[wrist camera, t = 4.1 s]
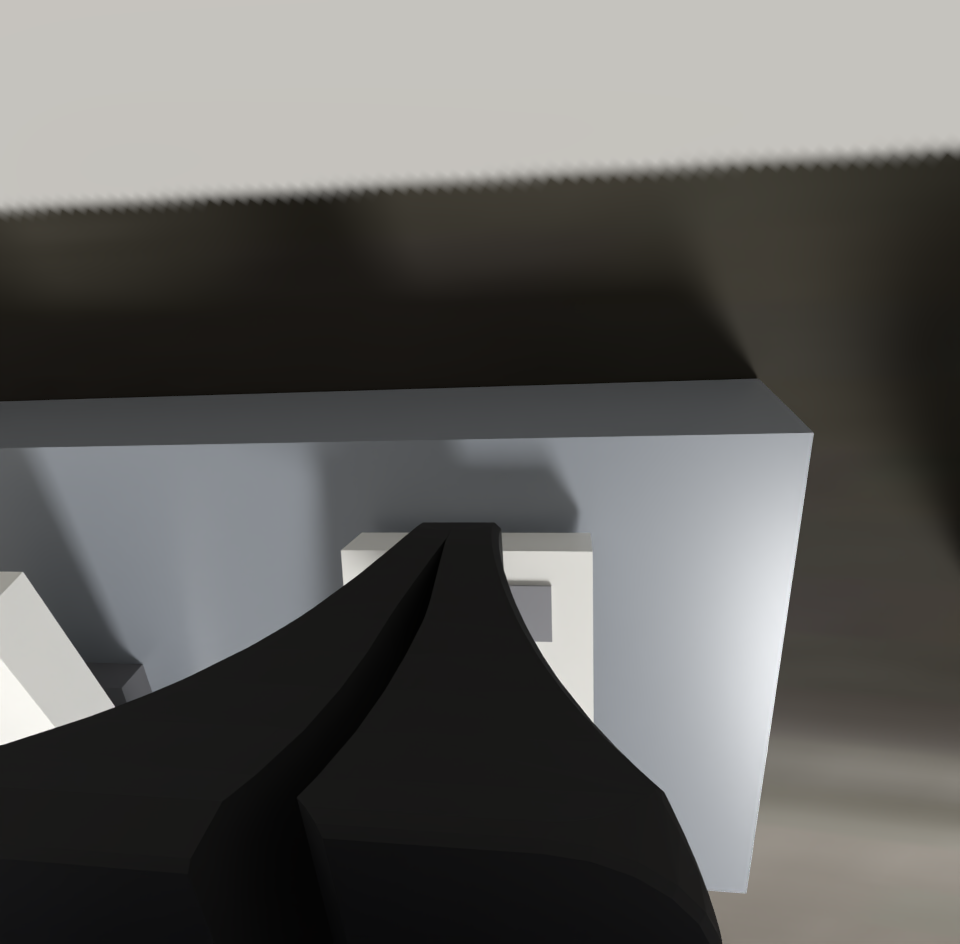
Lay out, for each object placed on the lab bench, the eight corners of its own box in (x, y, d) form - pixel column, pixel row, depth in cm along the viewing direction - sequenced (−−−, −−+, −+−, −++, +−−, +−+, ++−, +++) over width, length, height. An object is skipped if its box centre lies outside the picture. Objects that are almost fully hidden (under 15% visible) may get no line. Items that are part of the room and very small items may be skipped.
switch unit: (716, 775, 19) (755, 927, 15) (45, 741, 22) (-67, 860, 18) (758, 378, 14) (830, 450, 10) (-102, 404, 17) (-297, 467, 13)
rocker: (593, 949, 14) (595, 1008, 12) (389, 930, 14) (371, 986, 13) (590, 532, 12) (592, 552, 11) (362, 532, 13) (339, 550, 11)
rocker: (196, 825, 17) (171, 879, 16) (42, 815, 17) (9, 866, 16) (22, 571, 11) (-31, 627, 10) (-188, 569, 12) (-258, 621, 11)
